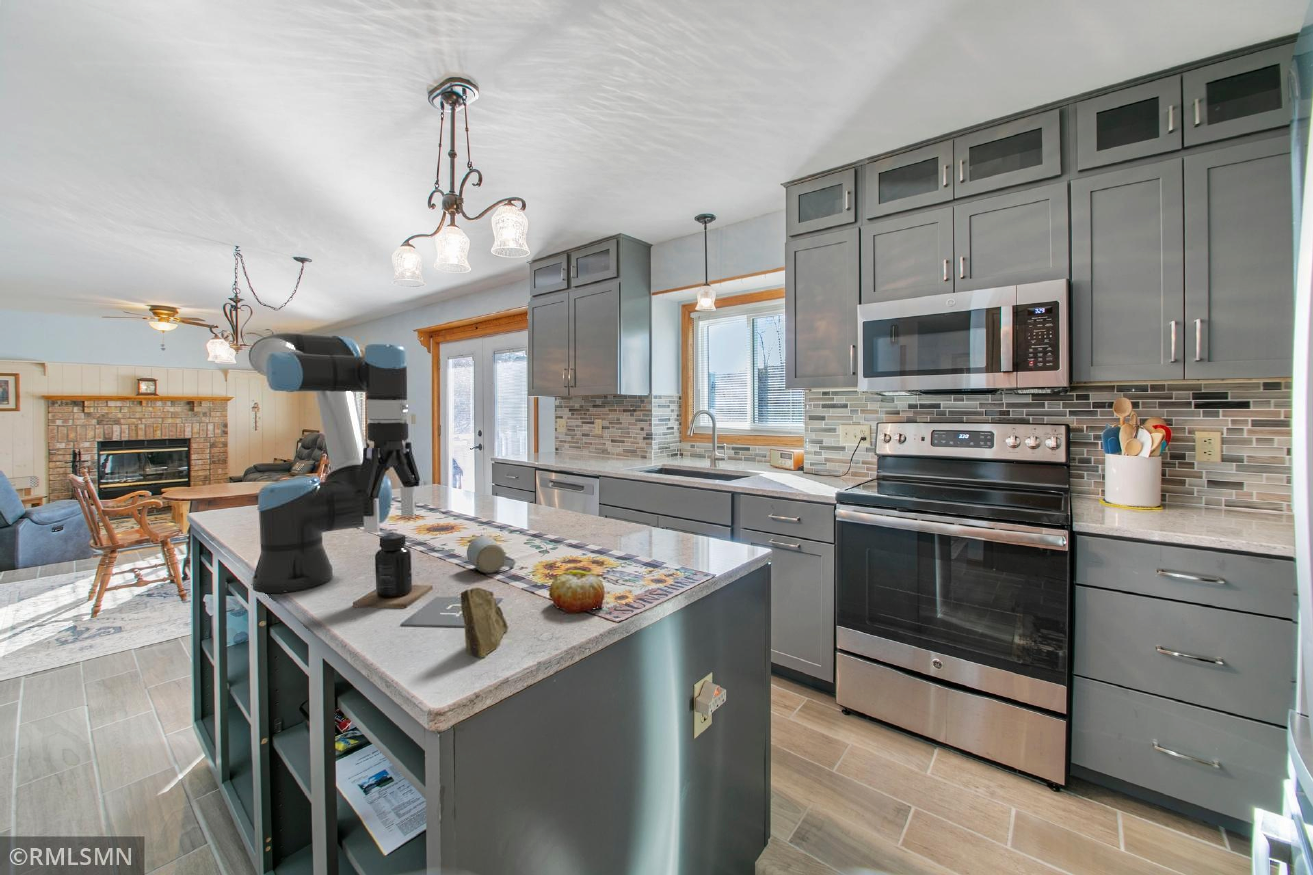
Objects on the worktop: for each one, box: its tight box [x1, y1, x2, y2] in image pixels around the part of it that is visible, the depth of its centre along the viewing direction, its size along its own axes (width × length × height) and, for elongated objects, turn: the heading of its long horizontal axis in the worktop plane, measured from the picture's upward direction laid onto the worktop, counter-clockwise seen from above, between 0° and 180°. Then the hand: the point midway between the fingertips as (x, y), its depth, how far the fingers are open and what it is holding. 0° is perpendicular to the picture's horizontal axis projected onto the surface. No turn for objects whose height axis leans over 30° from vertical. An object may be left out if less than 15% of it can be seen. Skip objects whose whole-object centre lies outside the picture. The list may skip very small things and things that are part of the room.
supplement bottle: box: [374, 533, 413, 598], centre depth 115 cm, size 7×7×12 cm
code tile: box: [400, 596, 504, 628], centre depth 107 cm, size 14×14×1 cm
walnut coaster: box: [352, 584, 433, 609], centre depth 115 cm, size 11×11×1 cm
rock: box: [460, 587, 509, 659], centre depth 94 cm, size 11×9×10 cm
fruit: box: [548, 569, 606, 614], centre depth 111 cm, size 11×10×8 cm
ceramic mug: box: [466, 535, 517, 574], centre depth 134 cm, size 11×8×8 cm
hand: (391, 524), depth 115 cm, fingers open, 13 cm apart
